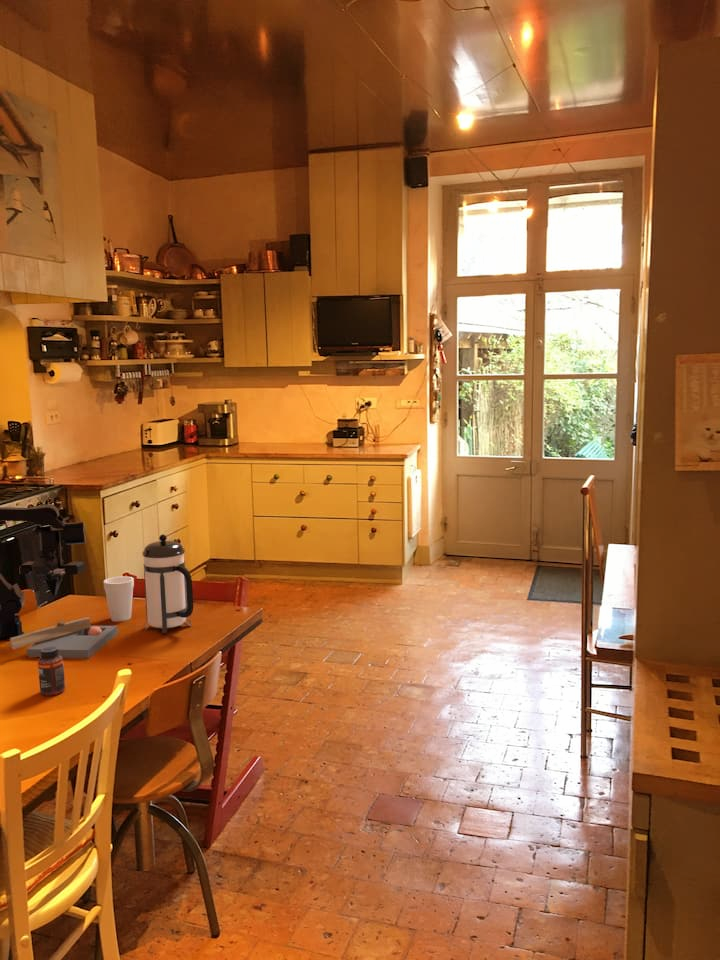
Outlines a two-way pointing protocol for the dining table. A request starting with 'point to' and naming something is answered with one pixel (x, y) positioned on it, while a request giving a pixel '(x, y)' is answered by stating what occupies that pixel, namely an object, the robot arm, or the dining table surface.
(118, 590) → the foam cup
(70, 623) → the lever
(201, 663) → the dining table surface
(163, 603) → the coffee press
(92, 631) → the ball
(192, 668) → the dining table surface
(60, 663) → the supplement bottle
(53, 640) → the board
